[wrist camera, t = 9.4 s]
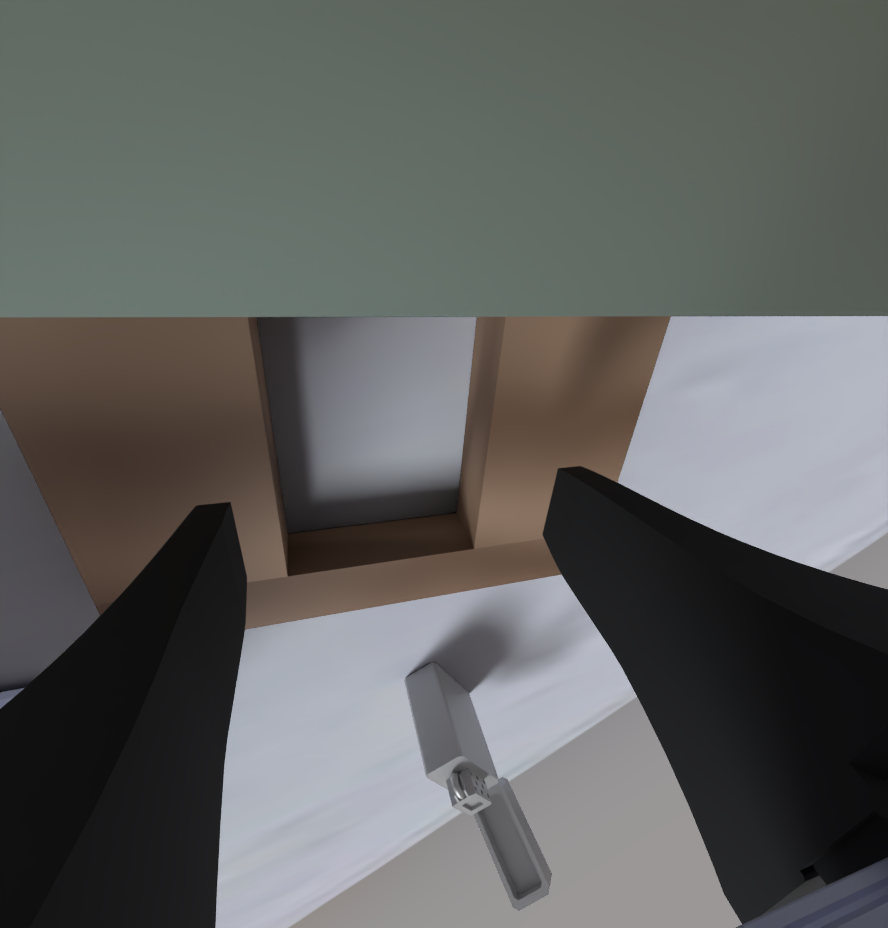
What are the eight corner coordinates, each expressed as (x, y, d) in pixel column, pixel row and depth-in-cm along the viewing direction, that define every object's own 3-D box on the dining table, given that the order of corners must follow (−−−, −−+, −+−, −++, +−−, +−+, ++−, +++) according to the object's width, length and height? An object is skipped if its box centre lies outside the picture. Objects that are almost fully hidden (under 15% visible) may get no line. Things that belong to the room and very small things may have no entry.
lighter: (402, 679, 22) (451, 896, 15) (433, 661, 22) (495, 871, 15) (466, 728, 26) (525, 915, 19) (492, 713, 26) (560, 895, 19)
